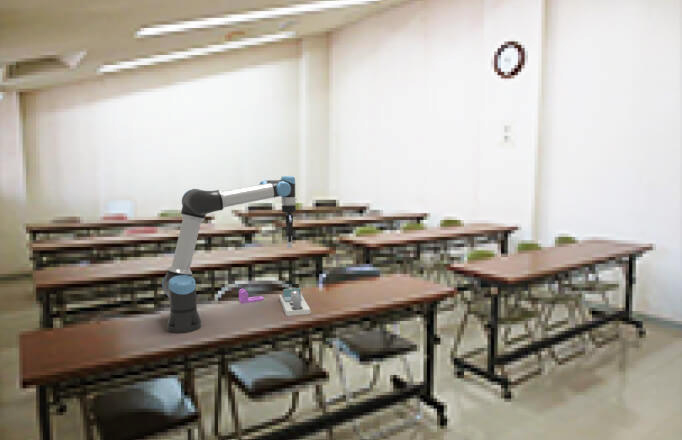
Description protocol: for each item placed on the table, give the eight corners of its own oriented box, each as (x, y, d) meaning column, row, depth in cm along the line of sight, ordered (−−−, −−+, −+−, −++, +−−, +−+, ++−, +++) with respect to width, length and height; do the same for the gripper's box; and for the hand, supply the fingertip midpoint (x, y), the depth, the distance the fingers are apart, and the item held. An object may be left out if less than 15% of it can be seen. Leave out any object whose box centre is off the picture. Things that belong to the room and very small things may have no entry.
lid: (285, 301, 248) (284, 292, 247) (283, 297, 255) (283, 289, 254) (302, 300, 250) (302, 291, 250) (300, 296, 257) (300, 288, 256)
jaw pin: (290, 307, 247) (290, 290, 246) (298, 307, 248) (298, 290, 247) (291, 309, 243) (291, 292, 242) (299, 309, 244) (299, 292, 243)
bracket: (241, 304, 254) (241, 291, 253) (239, 301, 259) (238, 289, 258) (264, 300, 260) (264, 288, 259) (262, 298, 265) (261, 286, 264)
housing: (286, 316, 233) (286, 298, 232) (279, 299, 262) (278, 283, 261) (310, 314, 236) (309, 296, 235) (300, 297, 265) (300, 281, 264)
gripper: (297, 205, 249) (298, 249, 252) (293, 203, 261) (294, 245, 264) (283, 206, 247) (284, 250, 250) (280, 203, 259) (281, 246, 262)
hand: (289, 247), depth 257 cm, fingers closed
